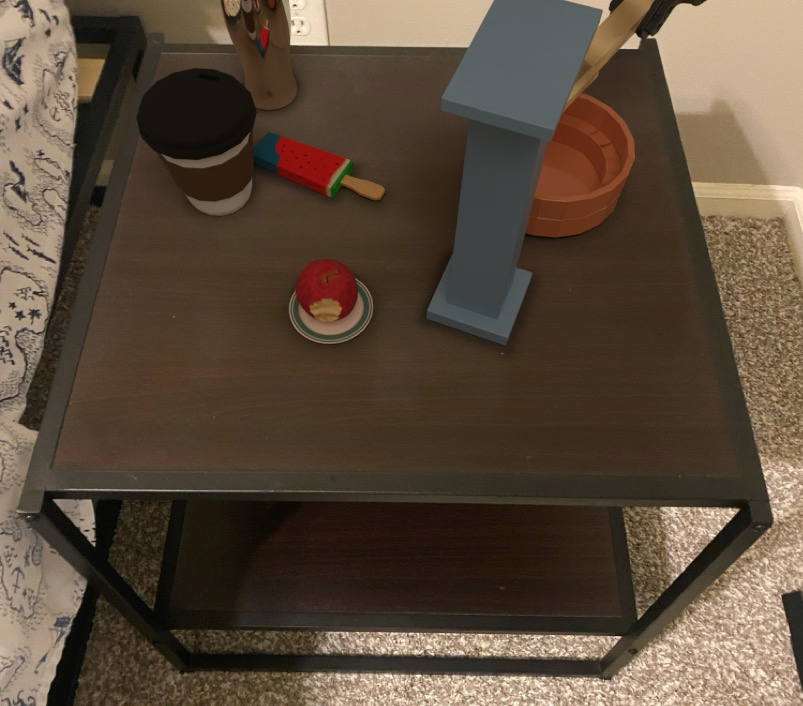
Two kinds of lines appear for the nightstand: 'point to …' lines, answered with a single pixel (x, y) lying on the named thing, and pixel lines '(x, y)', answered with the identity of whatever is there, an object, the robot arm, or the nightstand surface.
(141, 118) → the coffee cup
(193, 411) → the nightstand surface
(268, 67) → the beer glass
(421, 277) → the nightstand surface
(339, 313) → the apple
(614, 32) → the stick
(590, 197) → the bowl
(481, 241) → the stand
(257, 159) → the popsicle
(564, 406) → the nightstand surface
